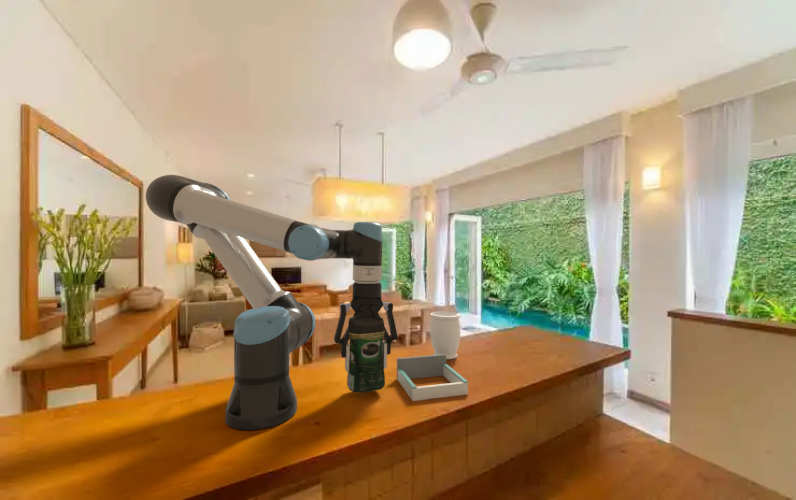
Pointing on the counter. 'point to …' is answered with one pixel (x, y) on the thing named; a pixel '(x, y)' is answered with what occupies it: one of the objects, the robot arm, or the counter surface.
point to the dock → (429, 368)
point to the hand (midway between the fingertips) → (365, 368)
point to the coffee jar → (366, 355)
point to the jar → (445, 333)
